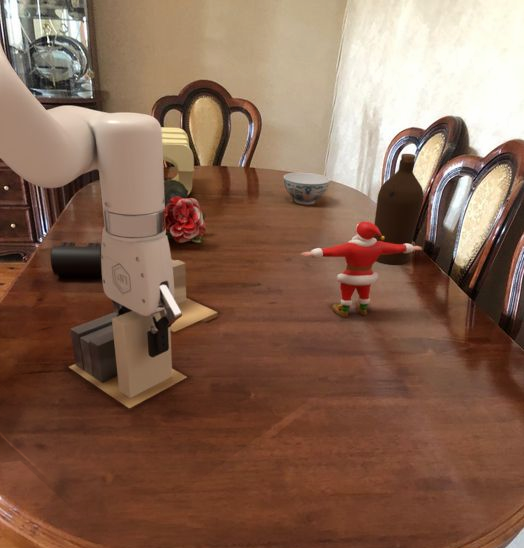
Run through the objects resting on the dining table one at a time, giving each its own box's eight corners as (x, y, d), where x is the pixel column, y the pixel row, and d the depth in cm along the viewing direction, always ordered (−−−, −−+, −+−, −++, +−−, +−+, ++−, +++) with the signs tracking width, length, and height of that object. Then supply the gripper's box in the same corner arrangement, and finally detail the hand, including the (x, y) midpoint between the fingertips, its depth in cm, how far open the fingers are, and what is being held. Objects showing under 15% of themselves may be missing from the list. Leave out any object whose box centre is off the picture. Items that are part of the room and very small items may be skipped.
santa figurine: (400, 302, 111) (418, 214, 101) (414, 314, 106) (435, 224, 96) (288, 311, 104) (297, 219, 94) (298, 325, 99) (308, 229, 90)
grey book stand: (69, 372, 82) (62, 330, 78) (126, 346, 89) (123, 307, 85) (129, 413, 74) (125, 369, 70) (187, 382, 81) (186, 340, 77)
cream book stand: (121, 309, 101) (117, 265, 96) (165, 292, 108) (163, 250, 104) (174, 336, 93) (172, 290, 88) (217, 316, 100) (218, 273, 96)
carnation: (169, 235, 160) (185, 274, 131) (118, 196, 151) (123, 228, 122) (201, 195, 157) (226, 226, 128) (152, 152, 148) (165, 175, 119)
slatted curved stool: (194, 205, 163) (193, 145, 154) (141, 205, 160) (137, 143, 151) (188, 181, 188) (188, 128, 179) (143, 180, 185) (140, 126, 176)
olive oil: (411, 268, 128) (435, 161, 115) (368, 263, 129) (386, 157, 116) (408, 253, 137) (429, 152, 124) (367, 248, 138) (384, 148, 125)
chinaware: (297, 210, 165) (300, 185, 161) (273, 197, 176) (274, 174, 172) (336, 205, 172) (339, 181, 168) (310, 194, 183) (312, 171, 179)
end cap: (53, 282, 110) (48, 251, 106) (61, 268, 116) (57, 239, 112) (102, 282, 111) (99, 252, 107) (108, 269, 117) (105, 240, 113)
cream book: (119, 391, 77) (111, 318, 70) (161, 369, 82) (157, 300, 76) (130, 398, 75) (123, 325, 69) (172, 376, 81) (169, 306, 75)
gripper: (69, 210, 68) (85, 332, 77) (157, 246, 59) (163, 379, 68) (117, 200, 73) (127, 316, 82) (205, 232, 64) (204, 357, 73)
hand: (143, 343), depth 75 cm, fingers open, 5 cm apart
